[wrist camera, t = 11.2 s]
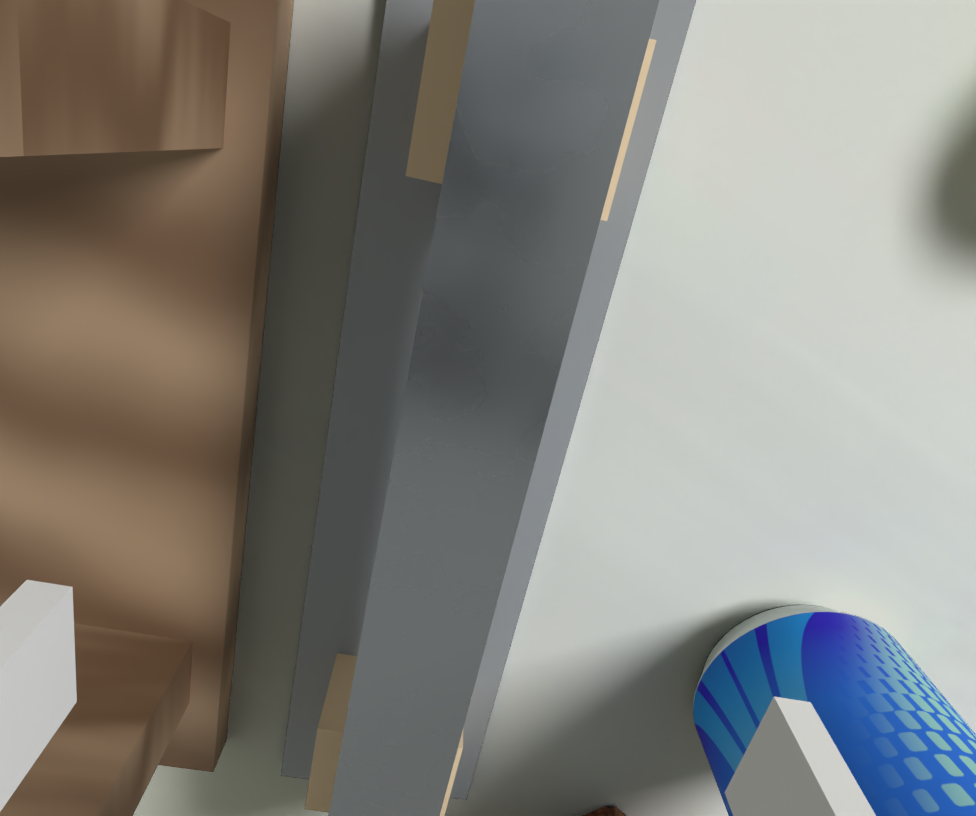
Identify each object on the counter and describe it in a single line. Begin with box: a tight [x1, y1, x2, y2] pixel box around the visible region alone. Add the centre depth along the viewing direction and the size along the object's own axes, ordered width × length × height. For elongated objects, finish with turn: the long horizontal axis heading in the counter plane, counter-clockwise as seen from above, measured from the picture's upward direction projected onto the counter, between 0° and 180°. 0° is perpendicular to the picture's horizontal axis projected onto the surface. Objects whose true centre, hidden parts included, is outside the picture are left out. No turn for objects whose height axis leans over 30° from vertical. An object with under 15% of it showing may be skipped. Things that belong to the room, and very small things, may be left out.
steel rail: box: [329, 0, 660, 816], centre depth 17 cm, size 30×3×4 cm, turn 168°
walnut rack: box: [0, 0, 294, 816], centre depth 16 cm, size 30×8×13 cm, turn 168°
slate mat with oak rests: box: [281, 0, 696, 816], centre depth 21 cm, size 32×8×4 cm, turn 168°
